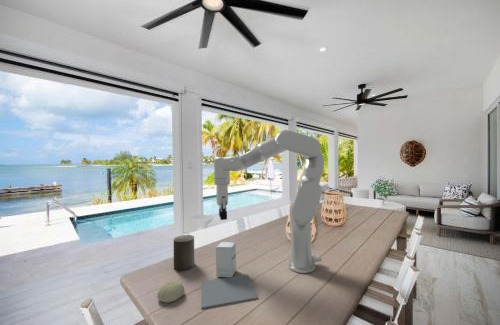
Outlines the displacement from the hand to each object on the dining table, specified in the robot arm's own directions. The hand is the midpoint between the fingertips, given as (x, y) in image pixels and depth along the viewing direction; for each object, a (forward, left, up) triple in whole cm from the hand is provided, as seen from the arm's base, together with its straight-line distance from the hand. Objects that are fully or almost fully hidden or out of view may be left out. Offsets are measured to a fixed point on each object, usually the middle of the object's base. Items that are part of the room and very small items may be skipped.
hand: (223, 217), depth 103 cm
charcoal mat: (+1, +23, -22) cm, 32 cm away
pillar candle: (+19, -2, -23) cm, 30 cm away
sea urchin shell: (+22, +21, -23) cm, 38 cm away
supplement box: (0, +11, -22) cm, 25 cm away
